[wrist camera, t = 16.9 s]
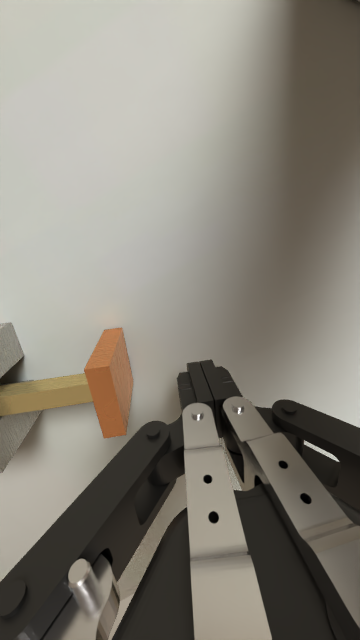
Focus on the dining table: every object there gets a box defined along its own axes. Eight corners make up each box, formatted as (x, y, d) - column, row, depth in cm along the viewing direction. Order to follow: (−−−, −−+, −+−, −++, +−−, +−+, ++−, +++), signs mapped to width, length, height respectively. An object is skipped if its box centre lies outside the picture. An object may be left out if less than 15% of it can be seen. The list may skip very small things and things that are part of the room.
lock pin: (122, 327, 16) (109, 365, 11) (133, 381, 17) (126, 434, 13) (-67, 353, 15) (-167, 406, 10) (-38, 407, 16) (-113, 474, 12)
